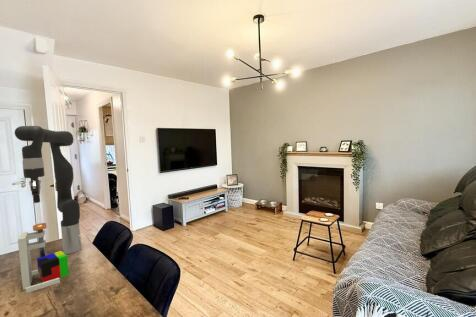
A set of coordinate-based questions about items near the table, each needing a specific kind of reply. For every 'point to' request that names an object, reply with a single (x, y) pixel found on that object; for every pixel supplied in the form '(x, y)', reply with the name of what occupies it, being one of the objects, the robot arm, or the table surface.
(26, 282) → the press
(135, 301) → the table surface
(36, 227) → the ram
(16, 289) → the table surface
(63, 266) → the puzzle toy
